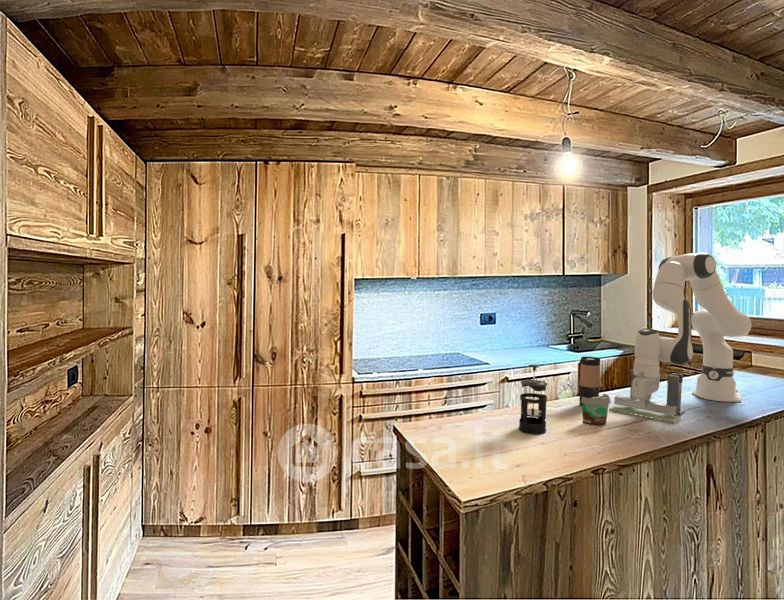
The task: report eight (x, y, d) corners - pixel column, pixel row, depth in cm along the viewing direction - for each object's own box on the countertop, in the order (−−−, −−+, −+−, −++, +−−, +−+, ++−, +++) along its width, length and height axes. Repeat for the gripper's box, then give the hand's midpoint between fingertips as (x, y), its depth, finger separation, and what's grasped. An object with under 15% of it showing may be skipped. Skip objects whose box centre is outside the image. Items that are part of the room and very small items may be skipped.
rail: (617, 402, 211) (617, 395, 211) (676, 414, 196) (676, 406, 196) (614, 403, 209) (614, 396, 209) (673, 415, 194) (674, 407, 193)
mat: (616, 406, 214) (617, 404, 214) (680, 418, 197) (681, 417, 197) (609, 409, 208) (609, 408, 208) (674, 423, 191) (674, 421, 191)
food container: (593, 428, 183) (594, 400, 183) (579, 423, 189) (581, 396, 188) (617, 424, 189) (618, 397, 188) (603, 419, 194) (604, 393, 194)
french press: (533, 436, 174) (536, 369, 172) (511, 429, 181) (513, 364, 179) (554, 430, 181) (557, 365, 179) (532, 423, 188) (534, 361, 187)
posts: (631, 401, 221) (632, 367, 220) (685, 412, 206) (687, 374, 205) (624, 404, 216) (626, 369, 215) (680, 415, 201) (682, 377, 200)
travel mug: (595, 404, 216) (597, 356, 215) (601, 409, 209) (603, 360, 207) (576, 403, 217) (578, 356, 216) (581, 408, 209) (583, 359, 208)
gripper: (645, 376, 192) (643, 412, 193) (663, 368, 206) (661, 402, 207) (627, 373, 196) (626, 409, 197) (646, 366, 211) (645, 399, 212)
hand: (644, 405), depth 202 cm, fingers open, 3 cm apart
